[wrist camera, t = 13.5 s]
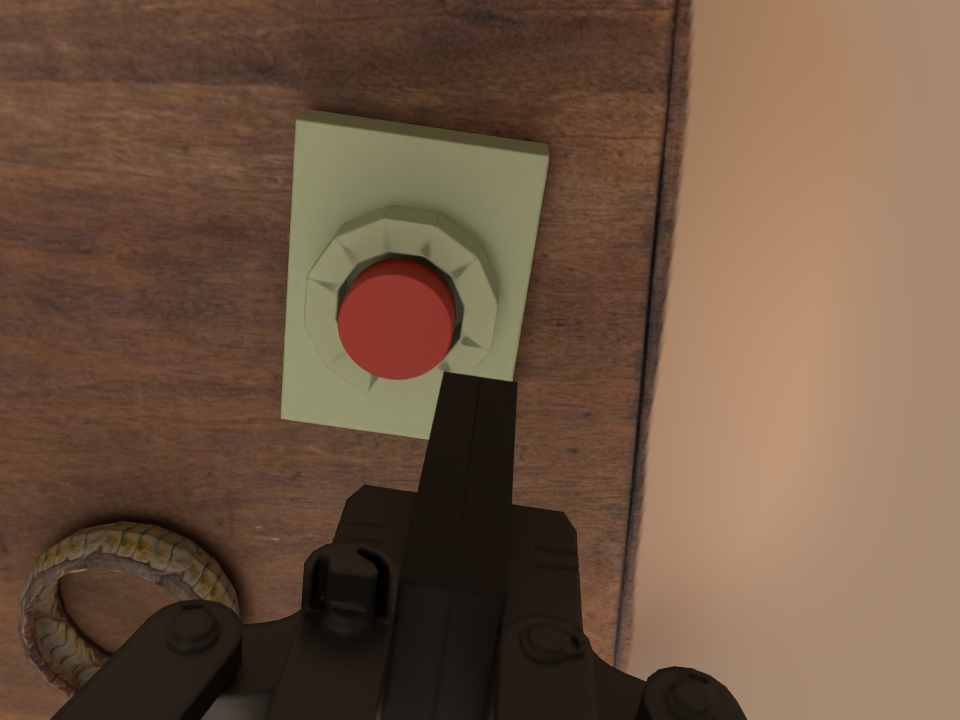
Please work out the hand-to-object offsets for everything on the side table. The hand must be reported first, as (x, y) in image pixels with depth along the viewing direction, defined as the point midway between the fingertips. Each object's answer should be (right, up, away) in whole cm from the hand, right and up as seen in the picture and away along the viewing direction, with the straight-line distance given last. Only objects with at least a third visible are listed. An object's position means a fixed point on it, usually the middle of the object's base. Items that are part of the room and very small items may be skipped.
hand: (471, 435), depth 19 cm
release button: (-3, +3, +14) cm, 15 cm away
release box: (-3, +5, +18) cm, 19 cm away
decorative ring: (-16, -10, +25) cm, 31 cm away
